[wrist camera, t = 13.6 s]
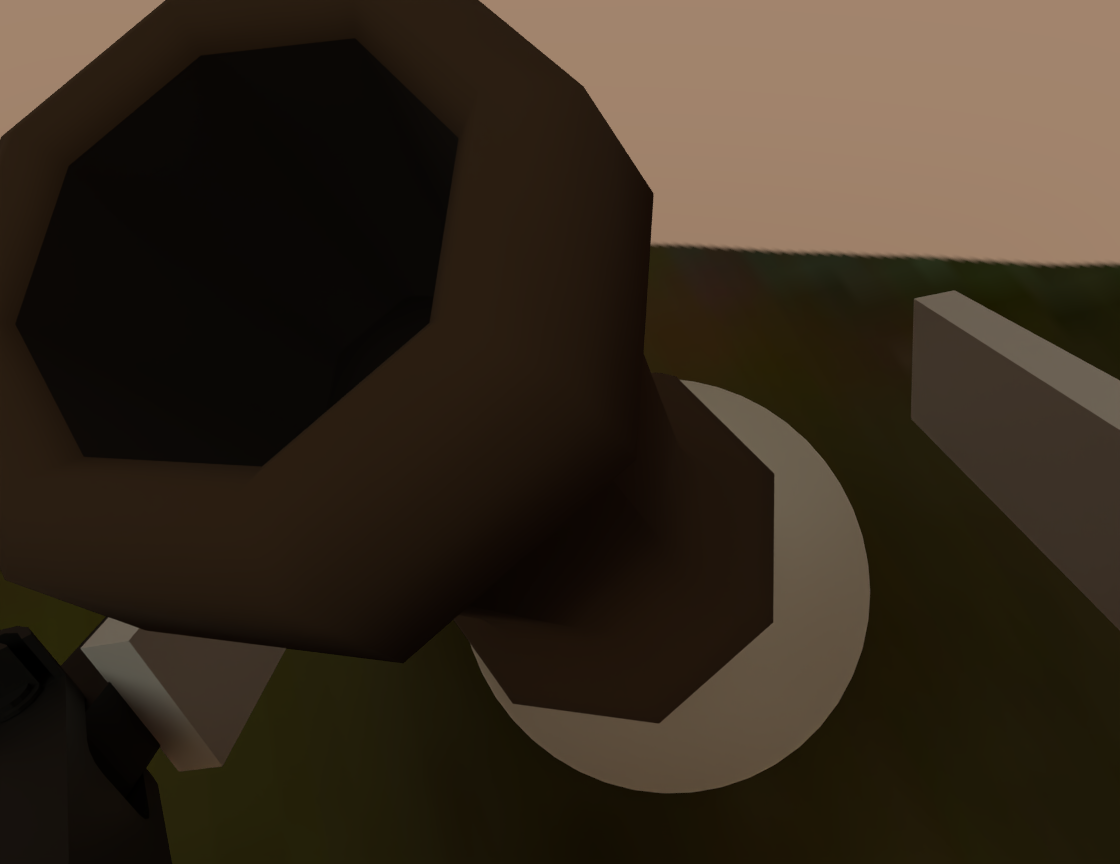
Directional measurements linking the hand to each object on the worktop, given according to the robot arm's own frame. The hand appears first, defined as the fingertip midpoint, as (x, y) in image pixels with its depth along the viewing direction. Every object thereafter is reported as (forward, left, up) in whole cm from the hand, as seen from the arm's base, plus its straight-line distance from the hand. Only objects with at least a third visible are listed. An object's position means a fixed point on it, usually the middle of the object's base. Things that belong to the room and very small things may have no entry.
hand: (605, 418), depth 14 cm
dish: (+2, -1, -15) cm, 15 cm away
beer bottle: (+2, -1, -13) cm, 13 cm away
